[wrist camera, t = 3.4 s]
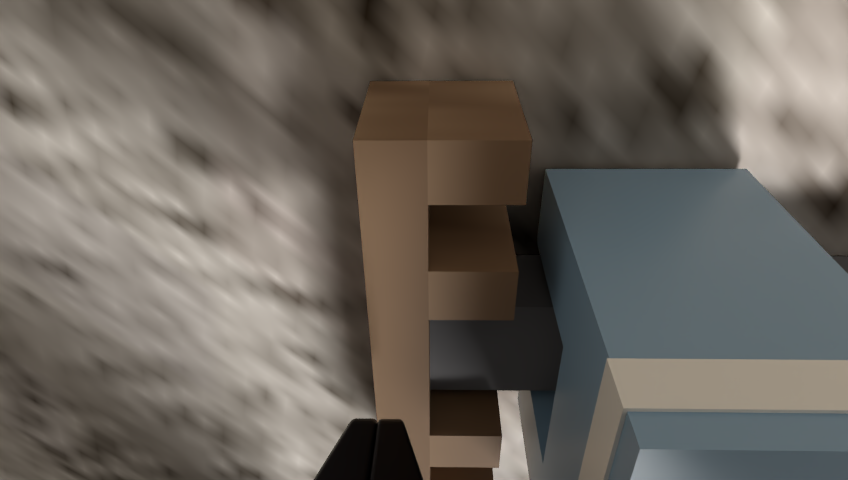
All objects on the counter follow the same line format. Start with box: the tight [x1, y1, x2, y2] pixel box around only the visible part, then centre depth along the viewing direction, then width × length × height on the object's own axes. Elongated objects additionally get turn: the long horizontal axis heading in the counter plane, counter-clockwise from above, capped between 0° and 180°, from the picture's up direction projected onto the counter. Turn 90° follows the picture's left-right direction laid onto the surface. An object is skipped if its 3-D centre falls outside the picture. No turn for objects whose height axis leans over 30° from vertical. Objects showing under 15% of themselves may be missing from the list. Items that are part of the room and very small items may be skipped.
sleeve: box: [518, 169, 848, 480], centre depth 10 cm, size 4×6×6 cm, turn 1°
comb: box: [353, 81, 532, 480], centre depth 11 cm, size 2×9×2 cm, turn 0°
